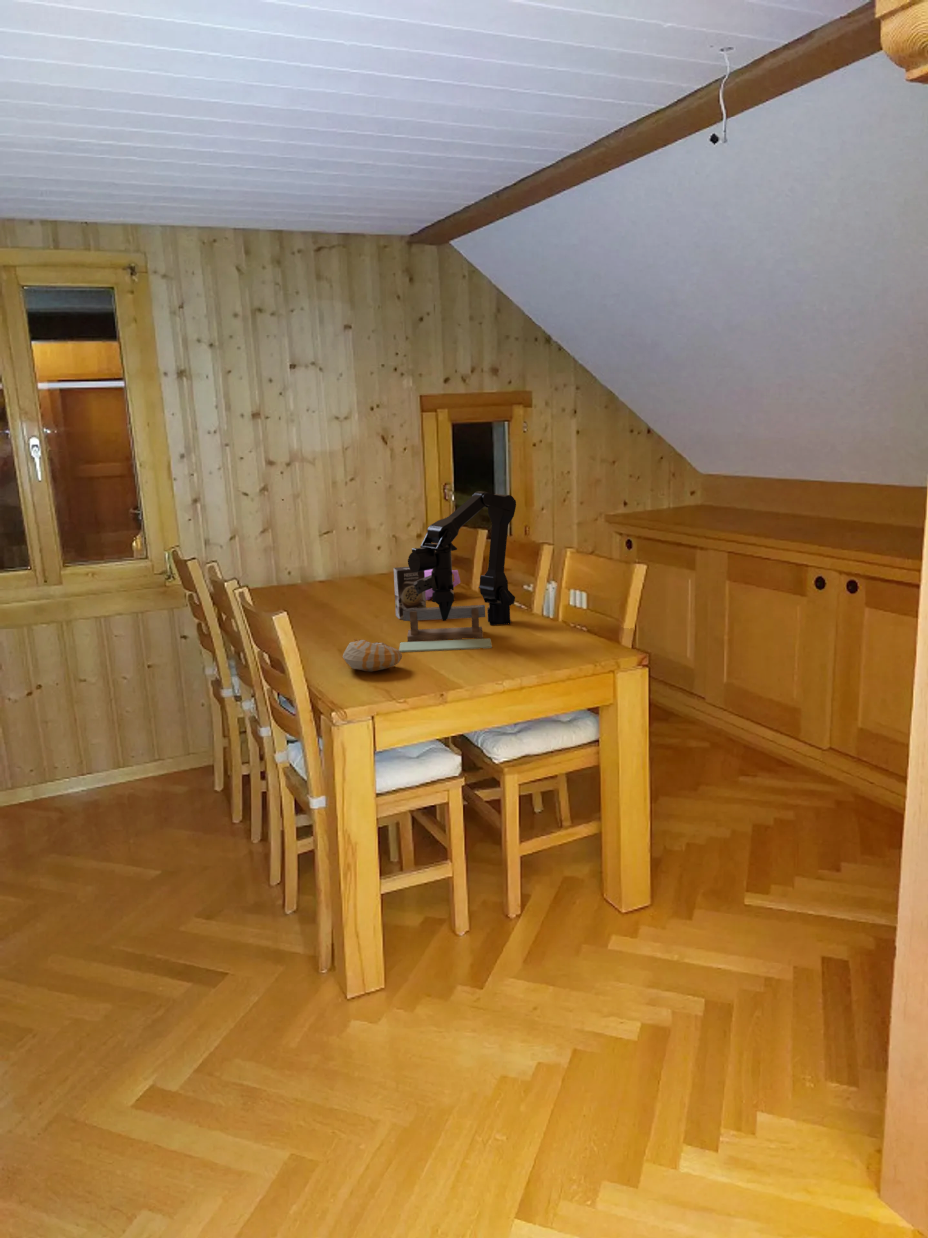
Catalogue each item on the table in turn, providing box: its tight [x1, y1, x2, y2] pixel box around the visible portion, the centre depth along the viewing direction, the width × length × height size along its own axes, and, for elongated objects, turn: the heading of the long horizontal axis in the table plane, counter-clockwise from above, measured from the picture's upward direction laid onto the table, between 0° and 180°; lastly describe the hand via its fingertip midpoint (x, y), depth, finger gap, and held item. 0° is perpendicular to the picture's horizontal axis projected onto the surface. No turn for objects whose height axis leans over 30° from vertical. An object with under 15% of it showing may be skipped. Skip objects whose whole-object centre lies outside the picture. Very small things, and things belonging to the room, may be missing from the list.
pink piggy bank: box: [424, 569, 461, 601], centre depth 330 cm, size 18×17×12 cm
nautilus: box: [342, 637, 403, 673], centre depth 247 cm, size 8×22×15 cm
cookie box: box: [393, 566, 427, 620], centre depth 302 cm, size 9×6×16 cm
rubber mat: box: [398, 638, 493, 653], centre depth 266 cm, size 26×9×1 cm, turn 91°
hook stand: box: [406, 604, 484, 642], centre depth 275 cm, size 22×8×8 cm, turn 91°
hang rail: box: [402, 604, 486, 622], centre depth 275 cm, size 24×3×3 cm, turn 91°
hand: (444, 619), depth 275 cm, fingers closed on hang rail, 3 cm apart
